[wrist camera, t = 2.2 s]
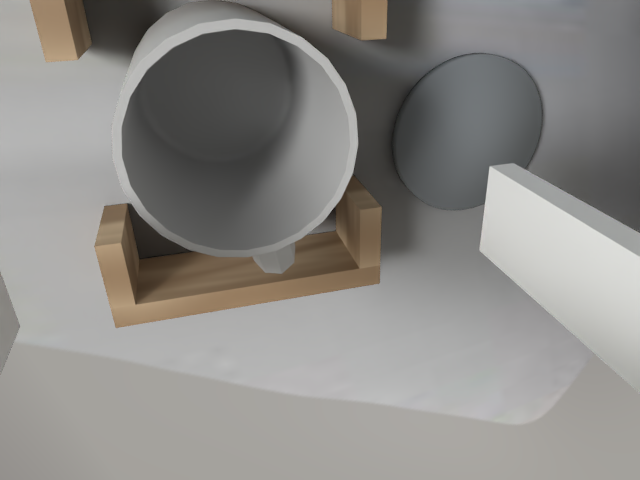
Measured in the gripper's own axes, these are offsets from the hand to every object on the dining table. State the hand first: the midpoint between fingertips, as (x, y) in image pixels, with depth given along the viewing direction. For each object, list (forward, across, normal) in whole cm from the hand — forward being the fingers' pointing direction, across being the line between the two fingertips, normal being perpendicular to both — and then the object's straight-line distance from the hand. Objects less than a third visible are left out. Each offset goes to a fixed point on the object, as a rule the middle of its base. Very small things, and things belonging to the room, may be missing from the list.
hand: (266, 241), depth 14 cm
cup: (+12, 0, 0) cm, 12 cm away
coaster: (+12, +12, -2) cm, 17 cm away
